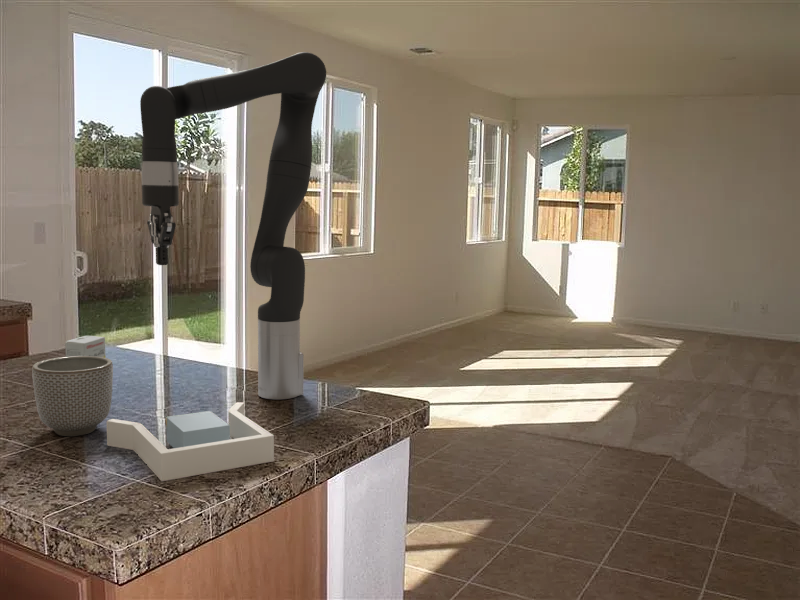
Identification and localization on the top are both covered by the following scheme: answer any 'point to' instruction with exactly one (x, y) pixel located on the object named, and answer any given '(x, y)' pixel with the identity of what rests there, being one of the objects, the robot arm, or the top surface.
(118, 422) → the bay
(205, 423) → the light blue box
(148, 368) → the top surface
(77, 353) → the ink box
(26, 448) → the top surface
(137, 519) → the top surface
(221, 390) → the top surface
